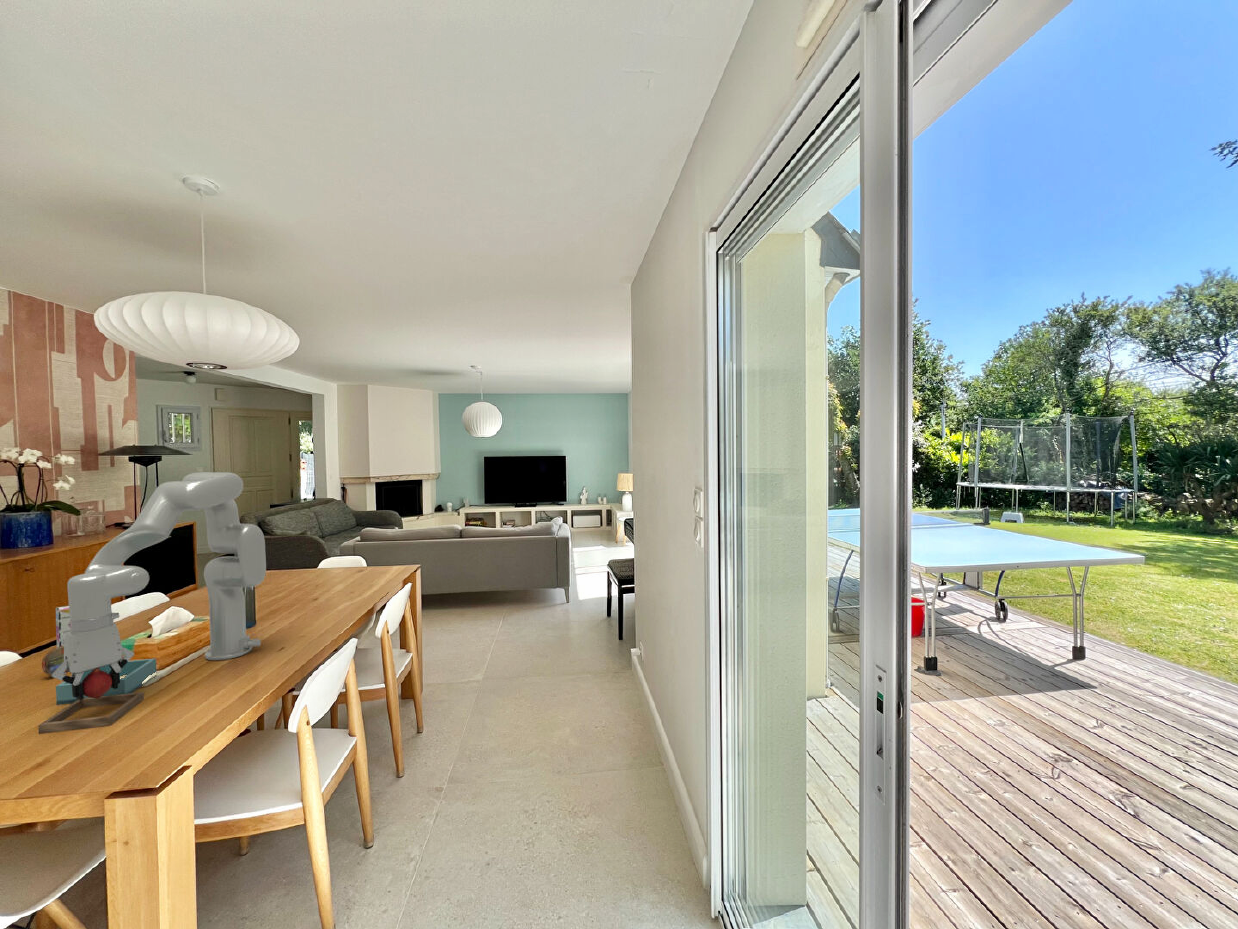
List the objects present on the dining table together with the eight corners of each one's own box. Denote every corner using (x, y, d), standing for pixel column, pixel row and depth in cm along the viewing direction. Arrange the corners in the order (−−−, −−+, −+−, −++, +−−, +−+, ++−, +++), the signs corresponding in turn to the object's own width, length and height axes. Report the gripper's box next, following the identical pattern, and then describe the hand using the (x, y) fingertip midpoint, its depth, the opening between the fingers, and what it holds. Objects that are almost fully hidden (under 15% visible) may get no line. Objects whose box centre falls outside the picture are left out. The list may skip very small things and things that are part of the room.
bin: (156, 675, 161) (156, 658, 161) (125, 697, 147) (124, 679, 146) (95, 681, 157) (94, 664, 157) (56, 705, 143) (55, 686, 143)
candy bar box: (60, 662, 172) (57, 610, 171) (56, 658, 174) (54, 607, 174) (107, 651, 181) (105, 601, 180) (103, 647, 184) (101, 599, 183)
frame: (144, 699, 146) (143, 692, 146) (110, 725, 132) (109, 717, 132) (80, 706, 142) (79, 698, 142) (38, 733, 129) (38, 725, 128)
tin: (48, 681, 158) (47, 652, 158) (40, 680, 158) (38, 651, 158) (106, 660, 173) (105, 634, 172) (98, 659, 173) (97, 633, 173)
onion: (85, 706, 134) (83, 675, 133) (78, 700, 137) (75, 669, 136) (116, 696, 139) (114, 666, 138) (108, 691, 142) (106, 661, 141)
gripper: (129, 610, 146) (134, 676, 147) (37, 631, 131) (44, 704, 132) (141, 615, 142) (146, 682, 143) (48, 637, 127) (54, 712, 128)
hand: (97, 692), depth 138 cm, fingers closed on onion, 5 cm apart
